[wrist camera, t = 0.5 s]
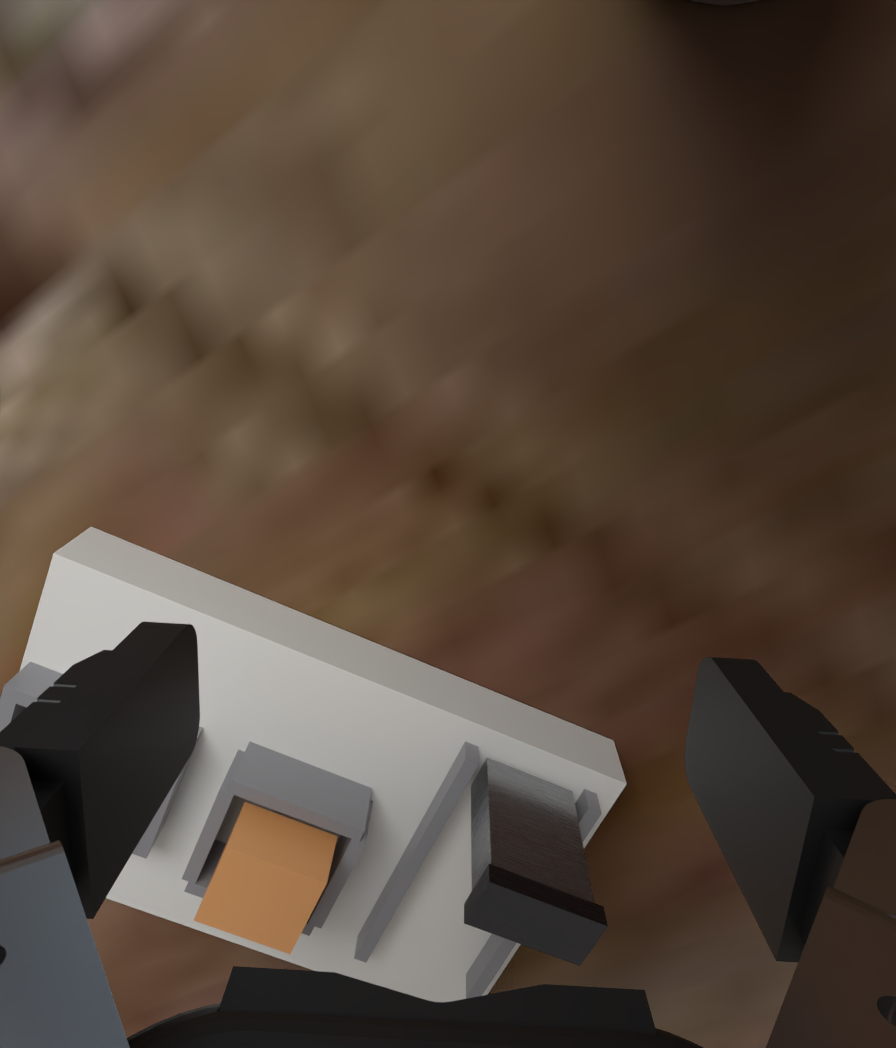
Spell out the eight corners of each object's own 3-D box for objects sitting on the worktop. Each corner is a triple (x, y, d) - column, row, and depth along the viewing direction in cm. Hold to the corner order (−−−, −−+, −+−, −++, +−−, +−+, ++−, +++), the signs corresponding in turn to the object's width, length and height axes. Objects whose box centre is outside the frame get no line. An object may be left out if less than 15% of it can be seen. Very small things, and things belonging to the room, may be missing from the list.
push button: (244, 801, 29) (226, 846, 27) (337, 836, 30) (327, 883, 28) (213, 871, 31) (193, 920, 28) (303, 904, 31) (290, 954, 29)
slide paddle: (484, 752, 31) (489, 881, 24) (578, 789, 31) (607, 926, 25) (464, 787, 31) (463, 923, 25) (557, 823, 32) (579, 965, 25)
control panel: (91, 526, 31) (15, 579, 26) (613, 740, 34) (639, 826, 29) (6, 803, 36) (-70, 894, 31) (467, 968, 39) (467, 1077, 34)
